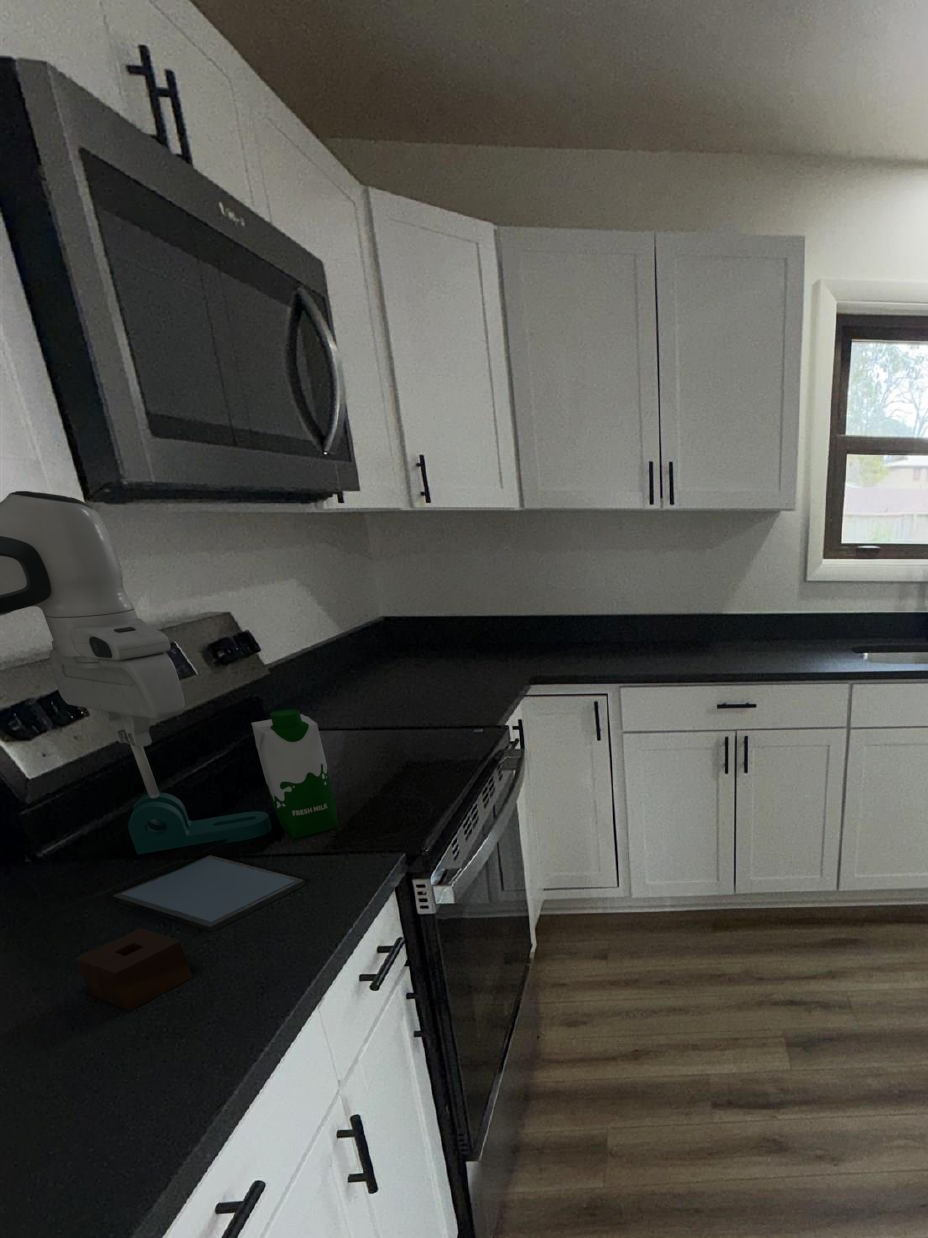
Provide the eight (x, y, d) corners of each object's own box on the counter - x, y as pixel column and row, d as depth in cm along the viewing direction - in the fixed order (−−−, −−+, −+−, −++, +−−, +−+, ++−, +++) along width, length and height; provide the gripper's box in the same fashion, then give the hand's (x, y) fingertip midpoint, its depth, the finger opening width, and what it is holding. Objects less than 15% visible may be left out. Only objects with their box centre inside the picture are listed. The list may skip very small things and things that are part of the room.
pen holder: (90, 995, 86) (74, 958, 84) (154, 963, 92) (141, 927, 90) (130, 1011, 84) (114, 973, 82) (193, 977, 90) (180, 940, 87)
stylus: (147, 798, 104) (116, 710, 99) (156, 795, 105) (125, 708, 100) (153, 800, 103) (121, 711, 98) (162, 797, 104) (131, 709, 99)
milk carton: (289, 843, 123) (257, 720, 115) (273, 826, 129) (241, 709, 121) (346, 828, 128) (319, 710, 120) (328, 812, 134) (301, 699, 126)
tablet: (114, 901, 106) (112, 895, 105) (212, 860, 117) (210, 854, 117) (211, 932, 99) (209, 925, 98) (305, 885, 110) (304, 879, 110)
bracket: (138, 858, 118) (121, 811, 115) (143, 842, 123) (127, 796, 120) (272, 835, 126) (259, 789, 122) (271, 820, 131) (259, 777, 128)
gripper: (20, 634, 96) (62, 741, 102) (122, 646, 89) (160, 761, 95) (76, 626, 101) (112, 728, 107) (177, 637, 94) (210, 746, 100)
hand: (136, 744), depth 101 cm, fingers closed on stylus, 1 cm apart
